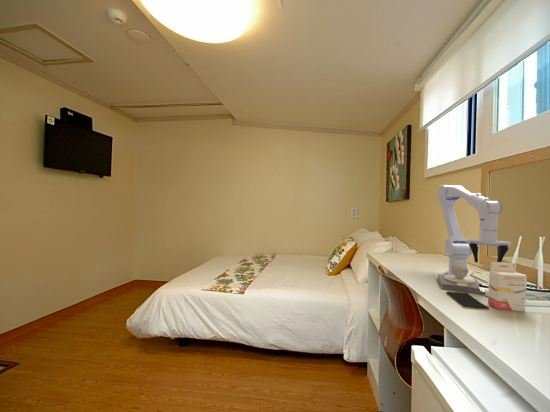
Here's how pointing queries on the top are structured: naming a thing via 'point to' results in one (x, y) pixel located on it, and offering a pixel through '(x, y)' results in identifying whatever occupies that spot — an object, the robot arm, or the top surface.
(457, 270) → the gray bumpy ball
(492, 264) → the ink cartridge box
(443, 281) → the kitchen scale
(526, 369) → the top surface
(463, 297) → the smartphone
